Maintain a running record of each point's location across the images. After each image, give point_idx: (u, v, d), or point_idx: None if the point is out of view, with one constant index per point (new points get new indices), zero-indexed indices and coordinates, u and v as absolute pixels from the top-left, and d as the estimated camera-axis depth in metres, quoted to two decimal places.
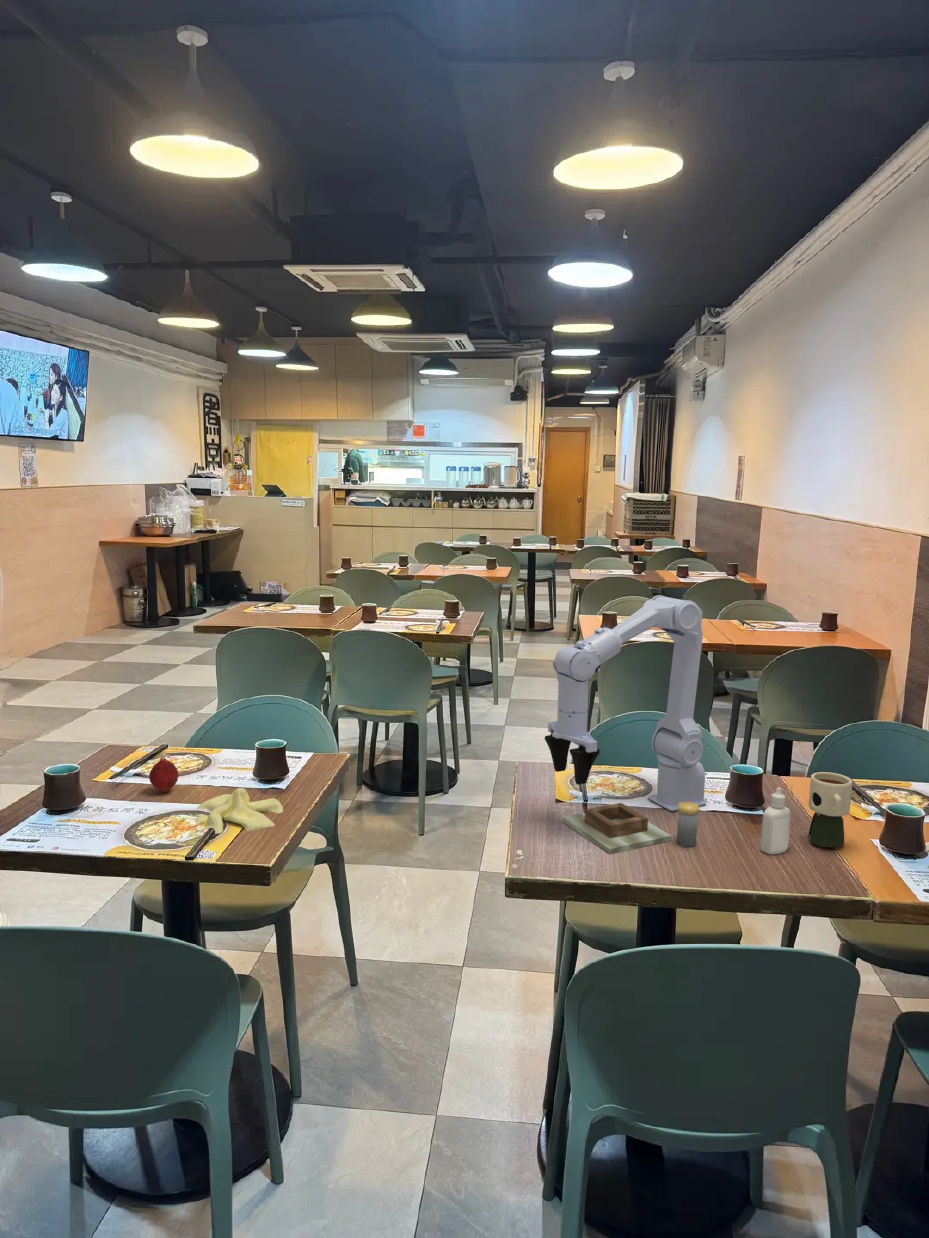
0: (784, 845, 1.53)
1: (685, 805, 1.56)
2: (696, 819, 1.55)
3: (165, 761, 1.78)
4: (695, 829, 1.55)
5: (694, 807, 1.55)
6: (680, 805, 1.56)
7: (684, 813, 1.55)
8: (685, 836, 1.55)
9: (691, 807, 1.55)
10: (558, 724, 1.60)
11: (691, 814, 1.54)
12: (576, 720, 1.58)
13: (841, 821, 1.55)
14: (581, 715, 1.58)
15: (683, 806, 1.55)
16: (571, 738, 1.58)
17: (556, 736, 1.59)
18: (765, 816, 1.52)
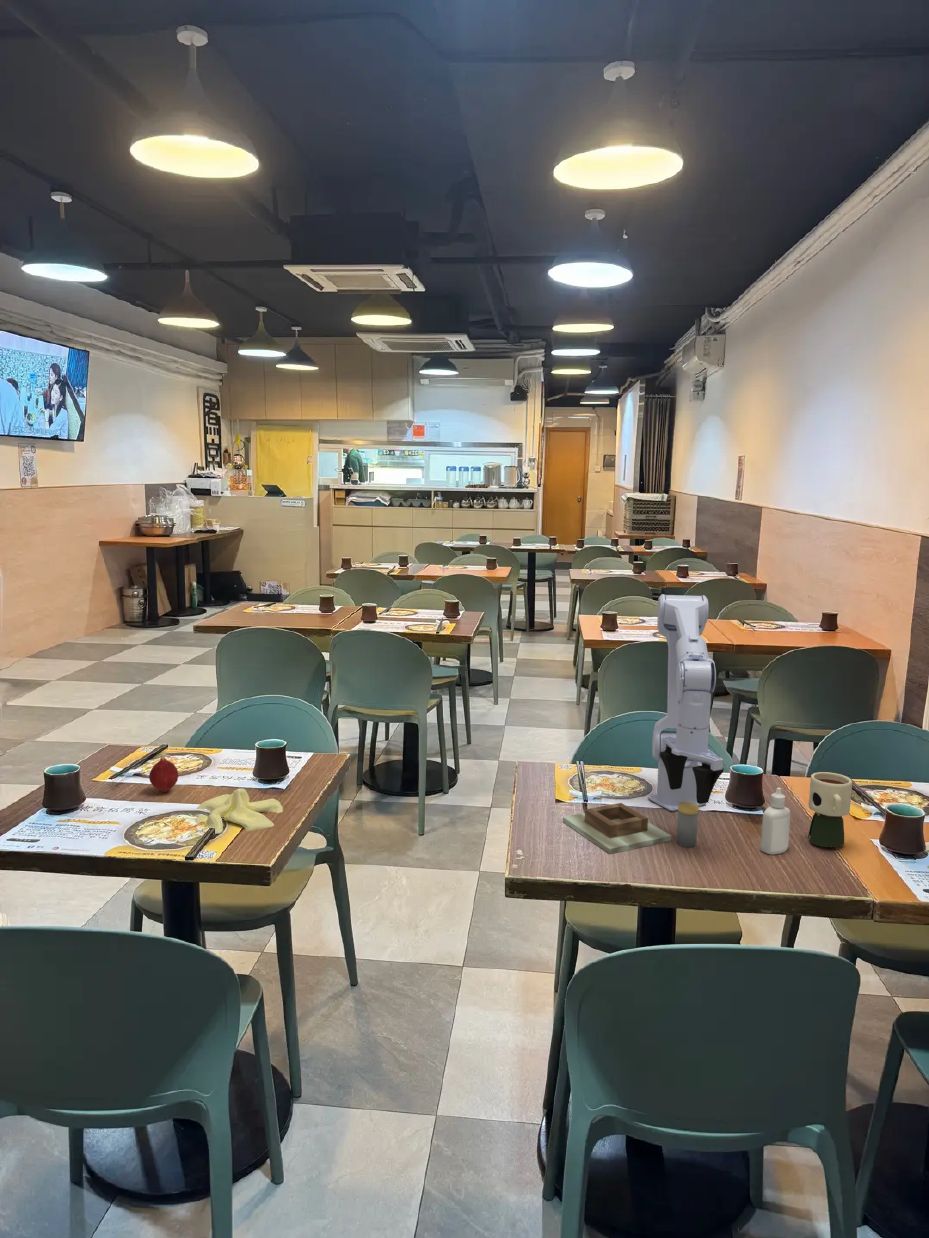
0: (784, 845, 1.53)
1: (685, 805, 1.56)
2: (696, 819, 1.55)
3: (165, 761, 1.78)
4: (695, 829, 1.55)
5: (693, 807, 1.55)
6: (680, 805, 1.56)
7: (684, 813, 1.55)
8: (685, 836, 1.55)
9: (691, 807, 1.55)
10: (678, 740, 1.53)
11: (691, 814, 1.54)
12: (699, 737, 1.51)
13: (841, 821, 1.55)
14: (704, 731, 1.51)
15: (683, 806, 1.55)
16: (694, 755, 1.50)
17: (677, 753, 1.52)
18: (765, 816, 1.52)
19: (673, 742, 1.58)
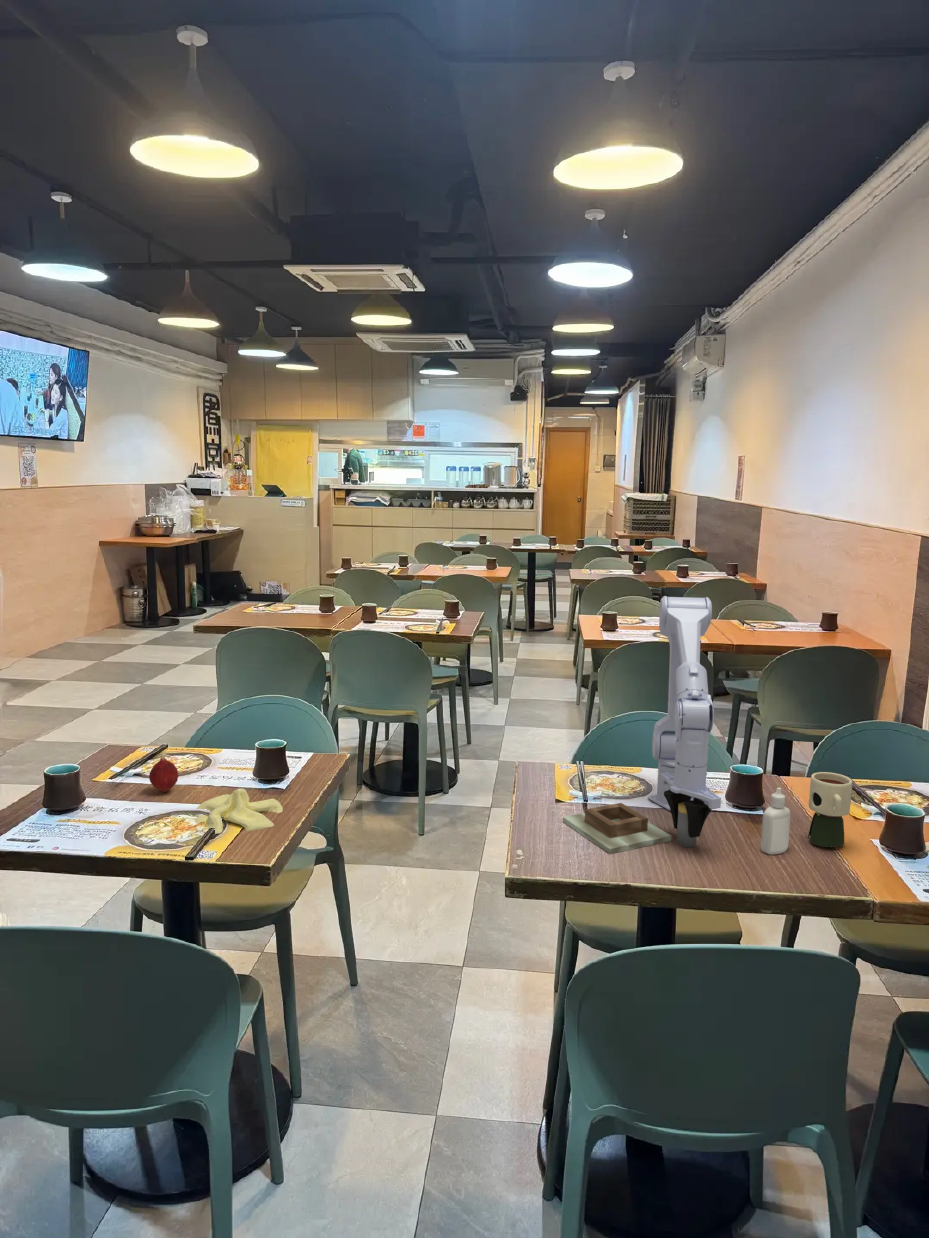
0: (784, 845, 1.53)
1: None
2: None
3: (165, 761, 1.78)
4: None
5: None
6: (680, 805, 1.56)
7: (684, 813, 1.55)
8: (685, 836, 1.55)
9: None
10: (676, 778, 1.54)
11: None
12: (697, 775, 1.52)
13: (841, 821, 1.55)
14: (702, 769, 1.52)
15: (683, 806, 1.55)
16: (692, 793, 1.52)
17: (675, 791, 1.53)
18: (765, 816, 1.52)
19: (671, 778, 1.59)
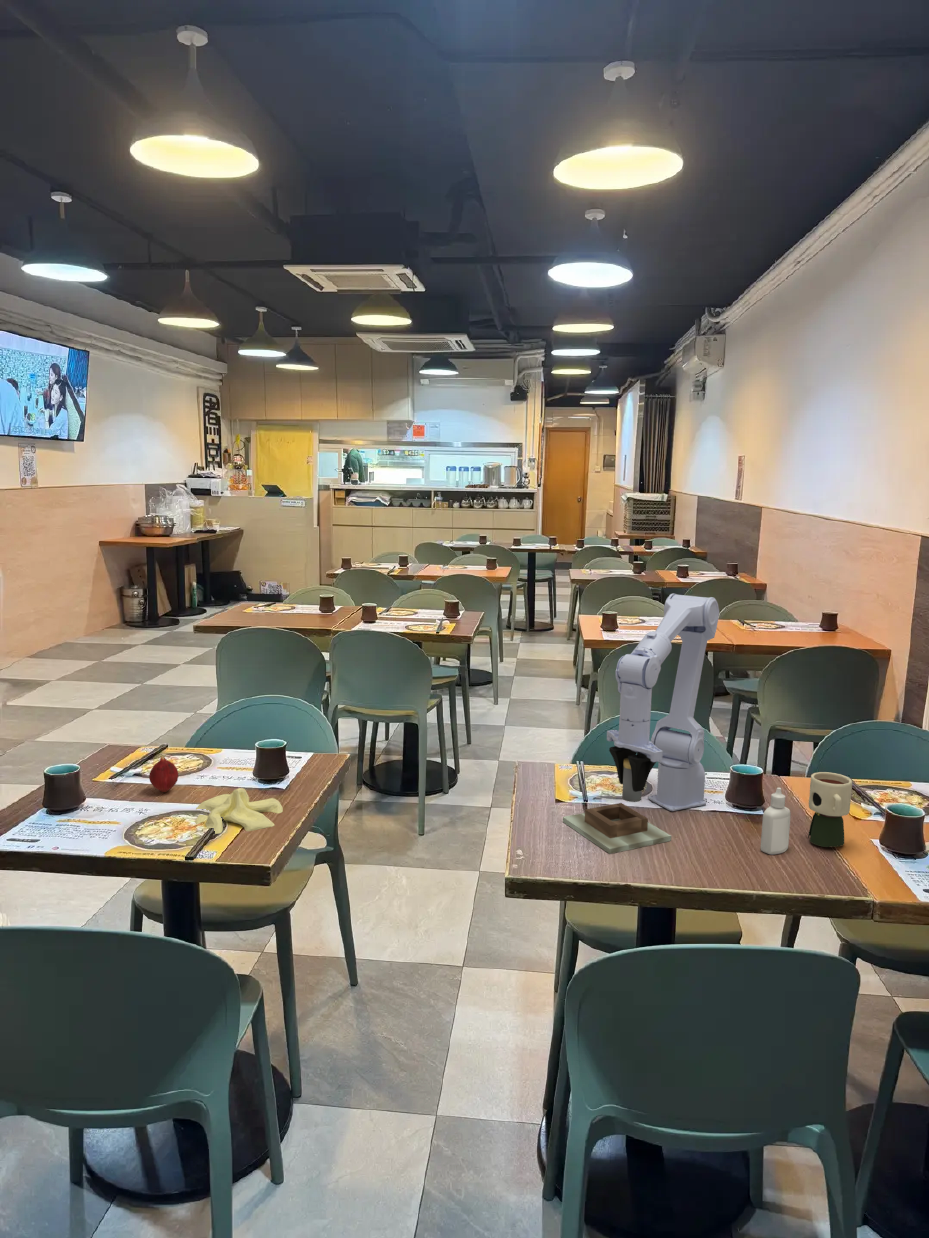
0: (784, 845, 1.53)
1: None
2: None
3: (165, 761, 1.78)
4: None
5: None
6: (625, 760, 1.59)
7: (628, 768, 1.58)
8: (629, 790, 1.58)
9: None
10: (620, 733, 1.57)
11: None
12: (640, 729, 1.55)
13: (841, 821, 1.55)
14: (645, 724, 1.55)
15: (628, 761, 1.58)
16: (635, 747, 1.54)
17: (619, 745, 1.56)
18: (765, 816, 1.52)
19: (617, 735, 1.62)
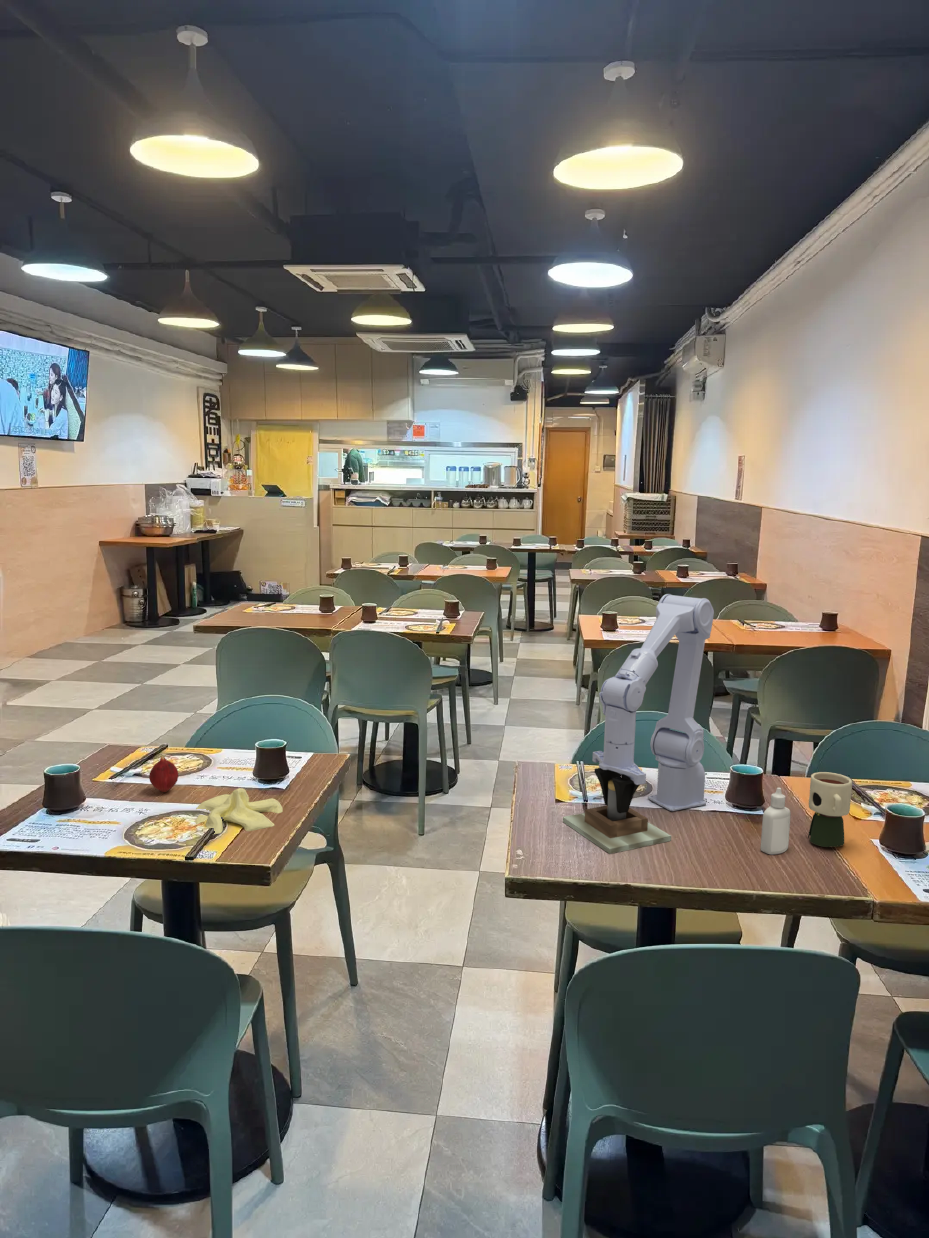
0: (784, 845, 1.53)
1: None
2: None
3: (165, 761, 1.78)
4: None
5: None
6: (610, 782, 1.61)
7: (612, 789, 1.59)
8: (613, 812, 1.60)
9: None
10: (605, 755, 1.59)
11: None
12: (624, 752, 1.57)
13: (841, 821, 1.55)
14: (629, 746, 1.57)
15: (612, 783, 1.60)
16: (619, 770, 1.56)
17: (603, 767, 1.58)
18: (765, 816, 1.52)
19: (602, 756, 1.64)
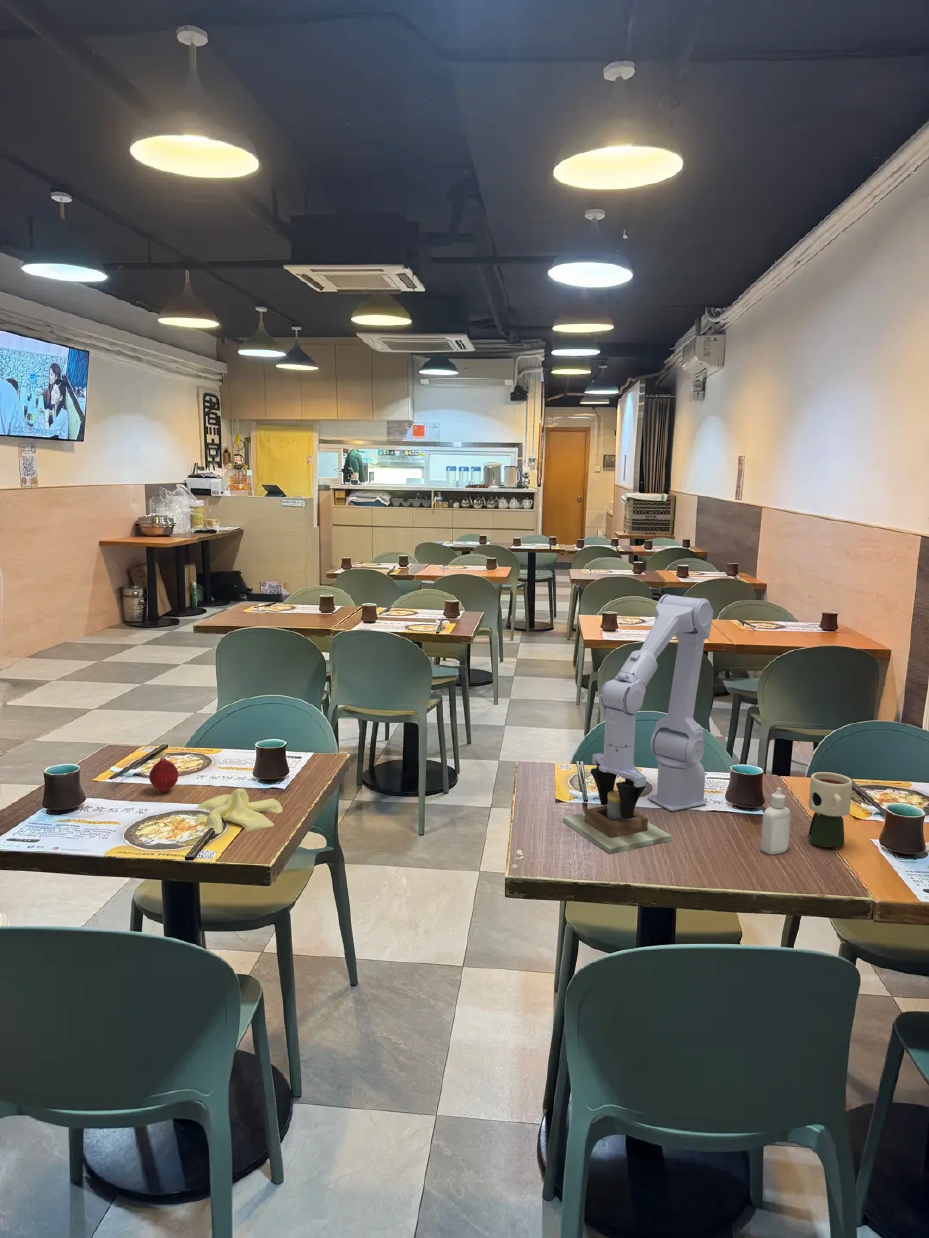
0: (784, 845, 1.53)
1: (614, 794, 1.61)
2: None
3: (165, 761, 1.78)
4: None
5: None
6: (609, 794, 1.61)
7: (612, 801, 1.60)
8: None
9: (618, 796, 1.60)
10: (605, 757, 1.59)
11: (618, 802, 1.59)
12: (624, 754, 1.57)
13: (841, 821, 1.55)
14: (629, 749, 1.57)
15: (611, 794, 1.61)
16: (619, 772, 1.56)
17: (603, 770, 1.58)
18: (765, 816, 1.52)
19: (602, 759, 1.64)
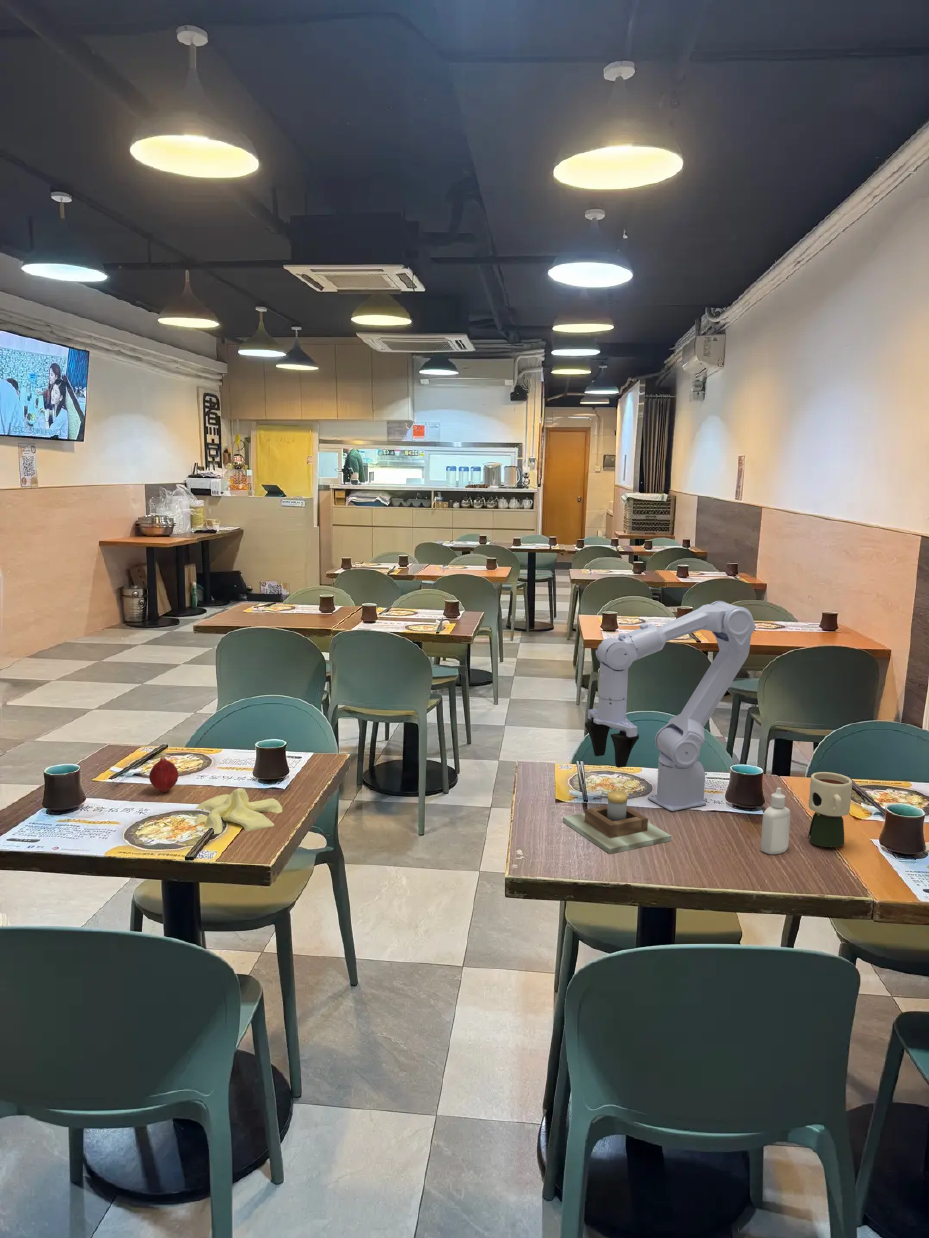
0: (784, 845, 1.53)
1: (614, 794, 1.61)
2: (624, 808, 1.60)
3: (165, 761, 1.78)
4: (623, 817, 1.60)
5: (622, 796, 1.60)
6: (609, 793, 1.61)
7: (612, 801, 1.60)
8: None
9: (618, 796, 1.60)
10: (599, 711, 1.70)
11: (618, 802, 1.59)
12: (617, 707, 1.68)
13: (841, 821, 1.55)
14: (621, 702, 1.68)
15: (611, 794, 1.61)
16: (612, 724, 1.68)
17: (598, 722, 1.69)
18: (765, 816, 1.52)
19: (597, 713, 1.75)
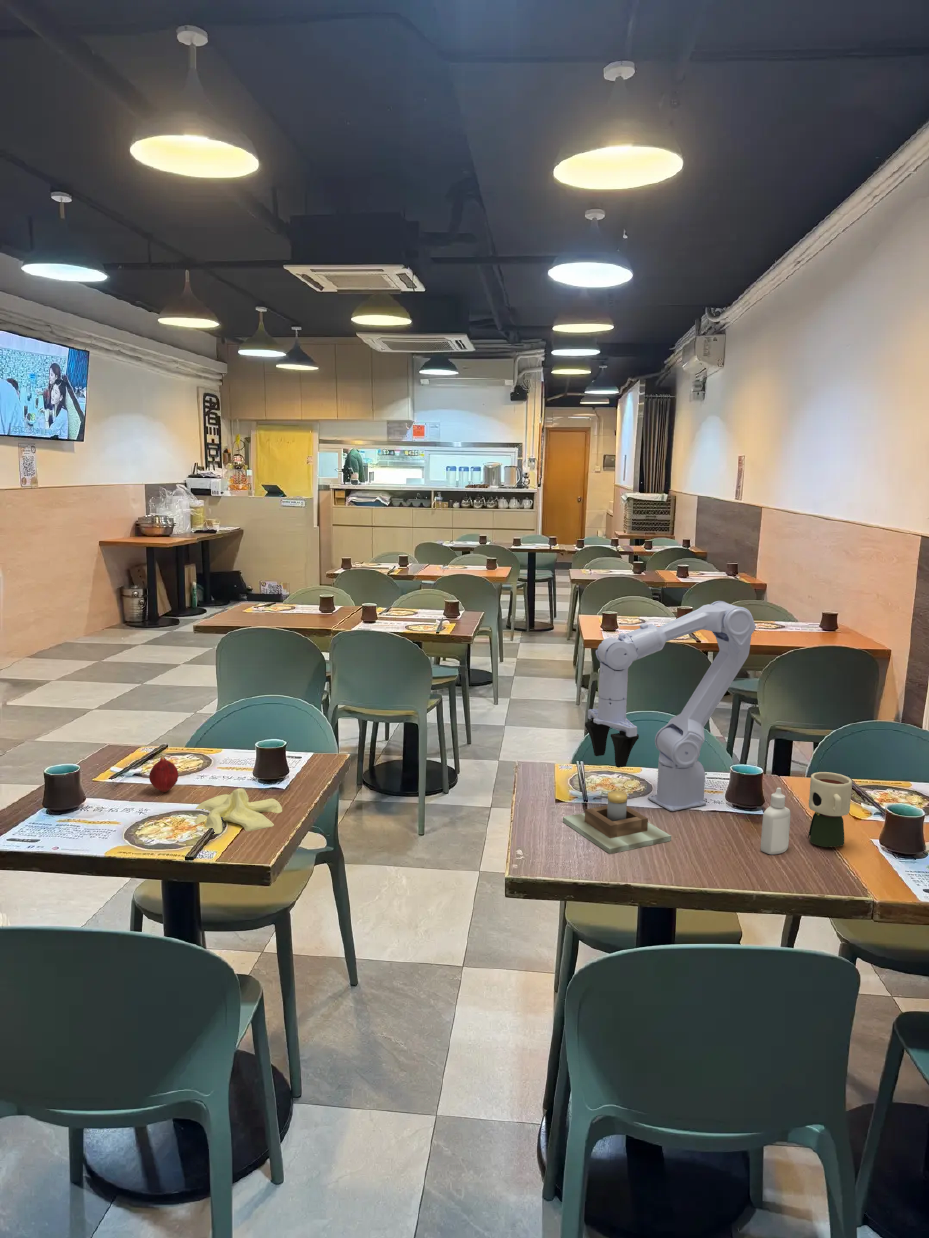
0: (784, 845, 1.53)
1: (614, 794, 1.61)
2: (624, 808, 1.60)
3: (165, 761, 1.78)
4: (623, 817, 1.60)
5: (622, 796, 1.60)
6: (609, 793, 1.61)
7: (612, 801, 1.60)
8: None
9: (618, 796, 1.60)
10: (599, 711, 1.70)
11: (618, 802, 1.59)
12: (617, 707, 1.68)
13: (841, 821, 1.55)
14: (621, 702, 1.68)
15: (611, 794, 1.61)
16: (612, 724, 1.68)
17: (597, 722, 1.69)
18: (765, 816, 1.52)
19: (597, 713, 1.75)
